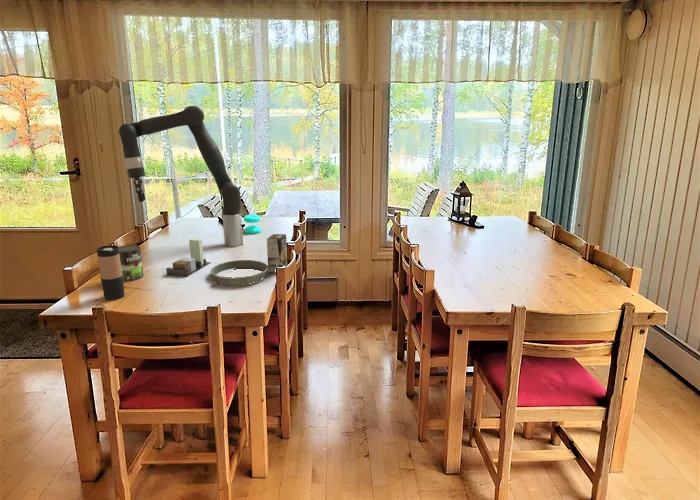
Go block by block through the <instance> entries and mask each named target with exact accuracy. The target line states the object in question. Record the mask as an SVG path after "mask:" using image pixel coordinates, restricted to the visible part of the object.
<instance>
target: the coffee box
mask: <svg viewBox="0 0 700 500" xmlns="http://www.w3.org/2000/svg"><path fill="white" fill-rule="evenodd" d="M266 249H267V251H266V252H267V266H268V269H267V272H268V273H269V272H274V273H273V274H276V273H275V269H276V268H277V267H283V266H286V265H287V266H288V254H287V253H288V252H287V250H288V249H287V234H284V233H281V234H279V233H277V234H276V233H273V234H272V235H270V236H269V237H267V238H266Z"/></svg>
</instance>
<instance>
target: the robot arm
mask: <svg viewBox="0 0 700 500" xmlns="http://www.w3.org/2000/svg"><path fill="white" fill-rule="evenodd" d="M204 119H205V113H204V111H203V110H202V108H200V107H199V106H197V105H189V106H186V107H185V108H184V109H183V110H180V111H178V112H174V113H171V114H168V115H167V114H166V115H160V116H159V115H158V116H154V117H153V116H152V117H150V118H144V119H141V120H139V121H135V122H130V123H123V124H121V125H120V126H119V128H118V135H119V136H120V139H121V143H122V150H123V151H122V152H123V155H124V160H125V162H124V163H125V168H126V172H127V176H128V178H129V179H134V180H133V186H134V190H135V193H136V195H137V198H138V201H139V203H142V202H143V203H144V202H145V201H146V195H145V185H144V181H143V179H142V177H145V176H146V172H145V171H146V170H145V167H144V162H143V159H142V156H141V152H140V148H139V144H138V138H139V137H142V136H148V135H152V134H157V133H160V132H163V131H167V130H171V129H174V128H178V127H185V126H187V127H188V129H189V131H190V132H191V134H192V136H193V137H194V141H195V143H196V146H197V148H198V150H199V152H200V155H201V157H202V159H203V161H204V163H205V165H206V166H207V168H208V170H209V172H210V173H211V175H212V177H213V179H214V182H215V183H216V186H217V188H218V192H219V194H220V195H219V196H220V197H221V198H222V205H223V206H222V210H221V213H222V225H223V239H224V246H226V247H231V248H232V247H239V246H242V245H244V236H243V227H242V219H241V209H242V206H241V205H242V204H241V203H242V201H241V190H240V189H239V187H238V186H237V185H235V184H234V183H233V181H232V179H231V178H230V176H229V174H228V172H227V169H226V164H225V160H224V158H223V155H222V153H221V150H220V149H219V146H218V145H217V143H216V141H215V140H214V139H213V137H212V136H211V134H210V133H209V131H208V130H207V128H206V125H205V122H204Z"/></svg>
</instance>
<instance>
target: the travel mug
mask: <svg viewBox="0 0 700 500" xmlns="http://www.w3.org/2000/svg"><path fill="white" fill-rule="evenodd" d="M118 247H119V246H118V245H103V246H100V247H97V248H96V254H97V263H98V268H99V275H100V282H101V286H102V292H103V296H104V300H107V301H116V300H117V301H118V300H120V299H122V298H124V297H125V287H124V285H125V284H124V281H123V275H122V268H121V262H120V255H119V248H118Z"/></svg>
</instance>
